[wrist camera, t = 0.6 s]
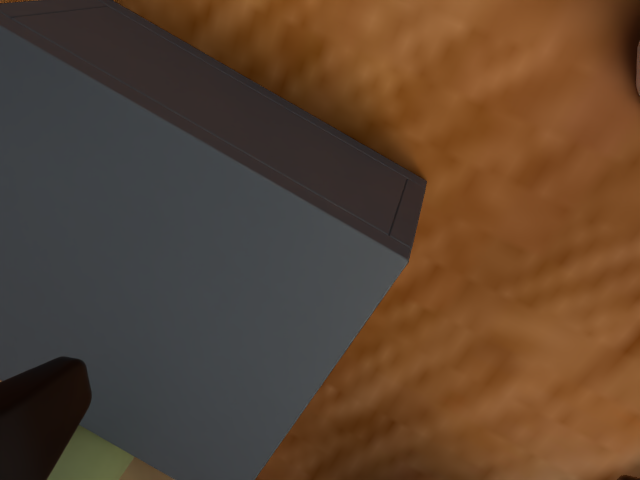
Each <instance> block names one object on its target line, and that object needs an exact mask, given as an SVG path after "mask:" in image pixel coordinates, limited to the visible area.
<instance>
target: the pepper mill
mask: <svg viewBox="0 0 640 480" xmlns="http://www.w3.org/2000/svg"><path fill="white" fill-rule="evenodd" d="M133 459H134V456H133V455H131V454H129V453H127V452H126V451H124V450H122V449H120V448H119V447H117V446H115V445H113V444H112V443H110V442H108V441H106V440H105V439H103V438H101V437H99V436H98V435H96V434H94V433H92V432H91V431H89V430H87V429H85V428H84V427H82V426H80V425H79V426H78V427H77V429H76V431H75V433H74V434H73V436H72V438H71V439H70V441H69V443H68V445H67V446H66V448H65V450H64V451H63V453H62V455H61V457H60V458H59V460H58V462H57V463H56V465H55V467H54V469H53V470H52V472H51V473H50V475H49V477H48V478H47V480H119V479H120V477H121V476H122V474H123V473H124V472H125V470H126V469H127V467H128V466H129V464H130V463H131V461H132V460H133Z"/></svg>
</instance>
